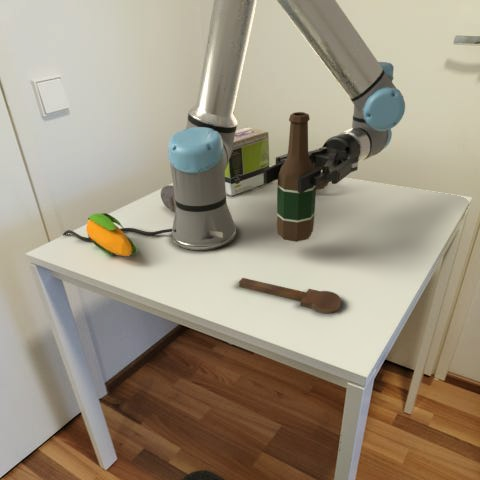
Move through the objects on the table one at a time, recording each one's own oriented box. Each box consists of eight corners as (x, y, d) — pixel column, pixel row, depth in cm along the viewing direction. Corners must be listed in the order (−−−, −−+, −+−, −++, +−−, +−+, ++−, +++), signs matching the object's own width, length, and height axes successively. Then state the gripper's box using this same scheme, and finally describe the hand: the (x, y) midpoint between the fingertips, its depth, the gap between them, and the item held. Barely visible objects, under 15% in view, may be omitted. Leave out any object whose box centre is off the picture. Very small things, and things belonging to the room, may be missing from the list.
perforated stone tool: (156, 206, 125) (152, 181, 120) (172, 201, 127) (169, 176, 123) (185, 223, 115) (182, 197, 111) (202, 217, 117) (199, 191, 113)
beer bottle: (269, 234, 97) (269, 115, 82) (292, 222, 101) (296, 106, 86) (297, 246, 92) (302, 121, 77) (320, 232, 96) (329, 112, 82)
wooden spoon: (234, 291, 89) (234, 286, 88) (247, 277, 92) (247, 272, 92) (334, 316, 81) (335, 310, 80) (344, 300, 85) (344, 294, 84)
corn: (103, 201, 108) (142, 228, 95) (112, 230, 113) (150, 259, 100) (74, 212, 105) (110, 241, 92) (84, 241, 110) (120, 272, 97)
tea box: (248, 175, 141) (247, 125, 132) (270, 183, 135) (270, 131, 126) (210, 188, 134) (205, 136, 125) (231, 197, 128) (228, 143, 119)
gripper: (385, 176, 96) (326, 212, 82) (305, 159, 107) (242, 189, 93) (390, 139, 91) (329, 171, 78) (307, 126, 102) (240, 152, 89)
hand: (281, 181), depth 86 cm, fingers closed on beer bottle, 7 cm apart
